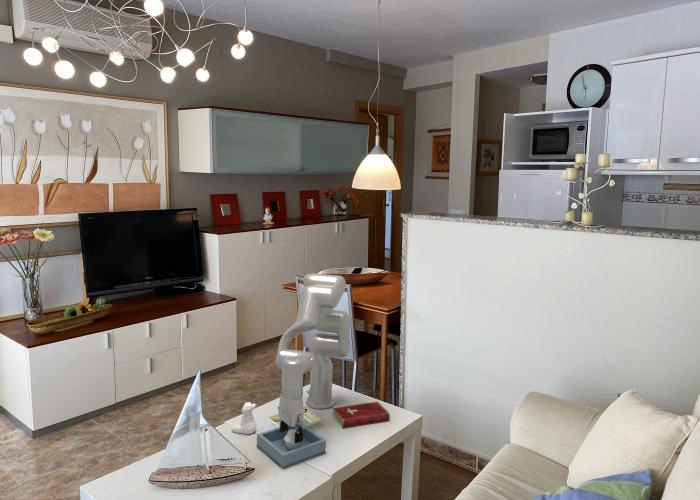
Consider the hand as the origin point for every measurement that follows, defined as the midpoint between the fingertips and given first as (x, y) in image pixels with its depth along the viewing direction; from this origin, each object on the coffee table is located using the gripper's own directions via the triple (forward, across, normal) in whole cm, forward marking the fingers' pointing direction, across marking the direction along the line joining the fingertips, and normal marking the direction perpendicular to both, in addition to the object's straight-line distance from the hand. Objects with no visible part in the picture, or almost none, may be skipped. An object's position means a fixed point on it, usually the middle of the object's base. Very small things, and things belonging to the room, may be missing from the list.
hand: (291, 436), depth 195 cm
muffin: (+4, 0, 0) cm, 5 cm away
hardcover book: (+6, -5, +37) cm, 38 cm away
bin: (+5, 0, 0) cm, 5 cm away
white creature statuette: (+6, -22, -6) cm, 23 cm away
